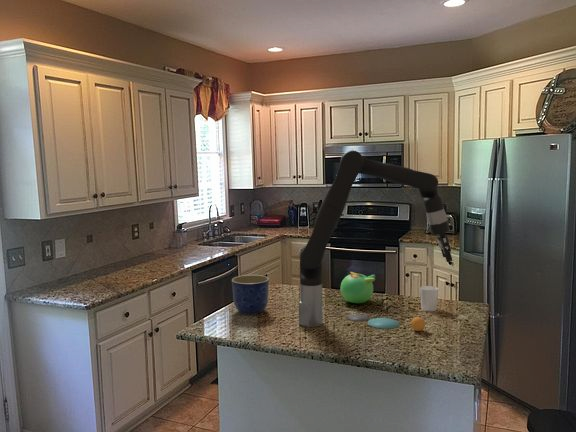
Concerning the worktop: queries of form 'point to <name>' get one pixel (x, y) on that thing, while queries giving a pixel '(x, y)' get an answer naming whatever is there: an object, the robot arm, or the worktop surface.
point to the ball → (418, 324)
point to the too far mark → (358, 318)
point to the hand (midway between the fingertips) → (447, 259)
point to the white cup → (429, 298)
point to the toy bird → (357, 287)
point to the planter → (250, 293)
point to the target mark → (383, 323)
